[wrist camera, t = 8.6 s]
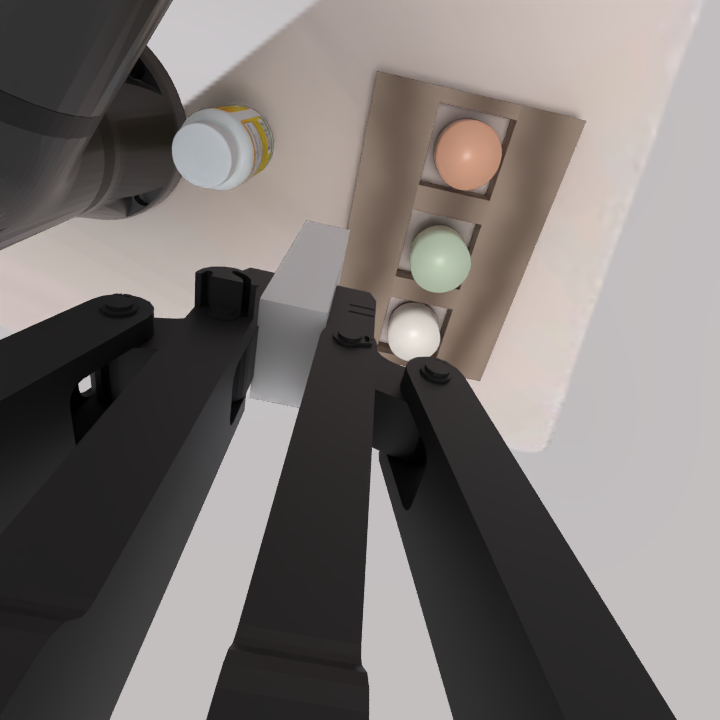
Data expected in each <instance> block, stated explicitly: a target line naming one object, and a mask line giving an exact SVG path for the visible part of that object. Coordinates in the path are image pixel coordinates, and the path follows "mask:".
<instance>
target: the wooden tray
mask: <svg viewBox="0 0 720 720" xmlns="http://www.w3.org/2000/svg"><path fill="white" fill-rule="evenodd" d="M440 102H441V103H445V104H450V105H454V106H458V107H462V108H467V109H471V110H475V111H479V112H484V113H488V114H492V115H496V116H500V117H505V118H509V119H511V121H510V124H509V127H508V130H507V133H506V136H505V139H504V142H503V145H502V156H501V162H500V165H499V167H498V169H497V171H496V173H495V174H494V176H493V177H492V178H491V181H490V184H489V187H488V190H487V193H486V196H484V195H480V194H475V193H471V192H467V191H462V190H458V189H453V188H449V187H445V186H440V185H436V184H431V183H427V182H422V181H420V178H421V174H422V170H423V166H424V162H425V158H426V154H427V150H428V146H429V143H430V139H431V135H432V131H433V127H434V123H435V119H436V115H437V111H438V107H439V103H440ZM585 123H586V121H585V120H580V119H576V118H572V117H568V116H564V115H559V114H555V113H551V112H547V111H543V110H538V109H534V108H530V107H526V106H522V105H517V104H513V103H509V102H505V101H501V100H496V99H492V98H488V97H484V96H480V95H475V94H471V93H467V92H463V91H459V90H455V89H450V88H446V87H442V86H438V85H434V84H429V83H425V82H421V81H417V80H413V79H408V78H404V77H400V76H396V75H392V74H387V73H383V72H379V71H377V75H376V81H375V86H374V91H373V97H372V102H371V107H370V113H369V118H368V123H367V128H366V134H365V139H364V144H363V150H362V155H361V160H360V166H359V171H358V176H357V182H356V187H355V192H354V198H353V203H352V208H351V213H350V219H349V224H348V229H347V230H350V232H349V237H348V242H347V247H346V252H345V257H344V262H343V267H342V272H341V277H340V282H339V286H343V287H347V288H352V289H356V290H361V291H366V292H370V293H371V295H372V296H373V297H374V299H375V300H376V314H375V330H374V338H375V339H376V342H377V351H378V352H379V353H380V354H381V355H382V356H383V357H385V358H386V359H388V360H389V361H391V362H393V363H395V364H398V365H403V366H406V364H407V363H408V362H409V361H406V360H403V359H401V358H399V357H398V356H396V355H395V354H394V353H393V352H392V350H391V349H390V346H389V344H387V343H382V342H379V338H380V334H381V330H382V326H383V322H384V318H385V315H386V311H387V307H388V303H389V299H390V296H391V297H396V298H401V299H405V300H410V301H415V302H420V303H424V304H429V305H434V306H439V307H443V308H448V311H447V314H446V317H445V320H444V323H443V326H442V329H441V332H440V343H439V346H438V348H437V350H436V351H435V352H434V353H433V354H432V355H431V356H430V357H432V358H439V359H441V360H444V361H446V362H448V363H449V364H451V365H452V366H454V367H456V368H457V369H458V370H459V371H460V372H461V373H462V374H463V375H464V377H465V378H467V379H472V380H477V381H480V380H481V377H482V375H483V373H484V370H485V368H486V365H487V363H488V360H489V358H490V355H491V353H492V351H493V348H494V346H495V343H496V341H497V338H498V336H499V333H500V331H501V329H502V326H503V324H504V321H505V319H506V316H507V314H508V311H509V309H510V306H511V304H512V302H513V299H514V297H515V294H516V292H517V289H518V287H519V284H520V282H521V280H522V277H523V275H524V272H525V270H526V267H527V265H528V262H529V260H530V258H531V255H532V253H533V250H534V248H535V245H536V243H537V240H538V238H539V235H540V233H541V231H542V228H543V226H544V223H545V221H546V218H547V216H548V213H549V211H550V209H551V206H552V204H553V201H554V199H555V196H556V194H557V191H558V189H559V187H560V184H561V182H562V179H563V177H564V174H565V172H566V169H567V167H568V164H569V162H570V160H571V157H572V155H573V152H574V150H575V147H576V145H577V142H578V140H579V138H580V135H581V133H582V130H583V128H584V125H585ZM412 210H417V211H421V212H426V213H430V214H435V215H439V216H444V217H448V218H453V219H457V220H462V221H466V222H471V223H475V224H476V226H475V229H474V232H473V235H472V238H471V241H470V244H469V247H468V251H469V254H470V258H471V267H470V271H469V273H468V276H467V277H466V279H465V280H464V281H463V283H462V284H460V285H459V286H458V287H456V288H455V289H453V290H451V291H448V292H443V293H435V292H430V291H427V290H425V289H423V288H422V287H421V286H419V285H418V284H417V282H416V281H415V280H414V278H413V275H412V272H409V271H404V270H400V269H397V268H398V264H399V260H400V256H401V252H402V248H403V244H404V240H405V236H406V232H407V229H408V225H409V221H410V217H411V213H412Z"/></svg>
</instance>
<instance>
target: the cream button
mask: <svg viewBox="0 0 720 720" xmlns="http://www.w3.org/2000/svg"><path fill="white" fill-rule="evenodd" d="M388 342H389V346H390V349H391V350H392V352H393V353H394V354H395V355H396V356H398V357H399V358H401V359H403V360H406V361H409V360H410V359H413V358H416V357H430V356H431V355H432V354H433V353H434V352H435V351H436V350H437V348H438V346H439V343H440V332H439V327H438V322H437V318H436V315H435V313H434V312H433V311H432V310H431V308H429V307H428V306H426V305H424V304H421V303H416V302H412V303H406V304H403V305H401V306H399V307H398V308H397V309H395V310H394V311H393V313H392V314H391V316H390V319H389V324H388Z"/></svg>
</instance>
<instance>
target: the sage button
mask: <svg viewBox="0 0 720 720" xmlns="http://www.w3.org/2000/svg"><path fill="white" fill-rule="evenodd" d="M410 265H411V272H412V275H413V278H414V280H415V281H416V282H417V284H418V285H419V286H421V287H422V288H423V289H425V290H427V291H430V292H435V293H443V292H448V291H451V290H453V289H455V288H456V287H458V286H459V285H460V284H462V283H463V281H464V280H465V279H466V277H467V276H468V273H469V271H470V267H471V258H470V254H469V251H468V249H467V247H466V245H465V242H464V240H463V238H462V237H461V235H460V234H459V233H458V232H457V231H456V230H454V229H453V228H450V227H448V226H443V225H436V226H431V227H428V228H426V229H424V230H423V231H421V232H420V233H419V234H418V235H417V236H416V237H415V239H414V240H413V242H412V244H411V247H410Z"/></svg>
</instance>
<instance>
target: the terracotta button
mask: <svg viewBox="0 0 720 720" xmlns="http://www.w3.org/2000/svg"><path fill="white" fill-rule="evenodd" d="M501 156H502V147H501V142H500V139H499V137H498V135H497V134H496V132H495V131H494V130H493V129H492V128H491V127H490V126H488V125H486V124H484V123H482V122H480V121H478V120H475V119H471V118H464V119H459V120H456V121H454V122H452V123H450V124H449V125H448V126H446V127H445V128H444V129H443V130H442V132H441V133H440V135H439V136H438V138H437V140H436V143H435V147H434V161H435V165H436V167H437V169H438V171H439V173H440V175H441V177H442V178H443V180H444V181H445V182H446V183H447V184H448V185H450V186H451V187H453V188H456V189H459V190H472V189H476V188H479V187H481V186H483V185H484V184H486V183H487V182H488V181H489V180H490V179H491V178H492V177H493V176H494V174H495V173H496V171H497V169H498V167H499V165H500V162H501Z"/></svg>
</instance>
